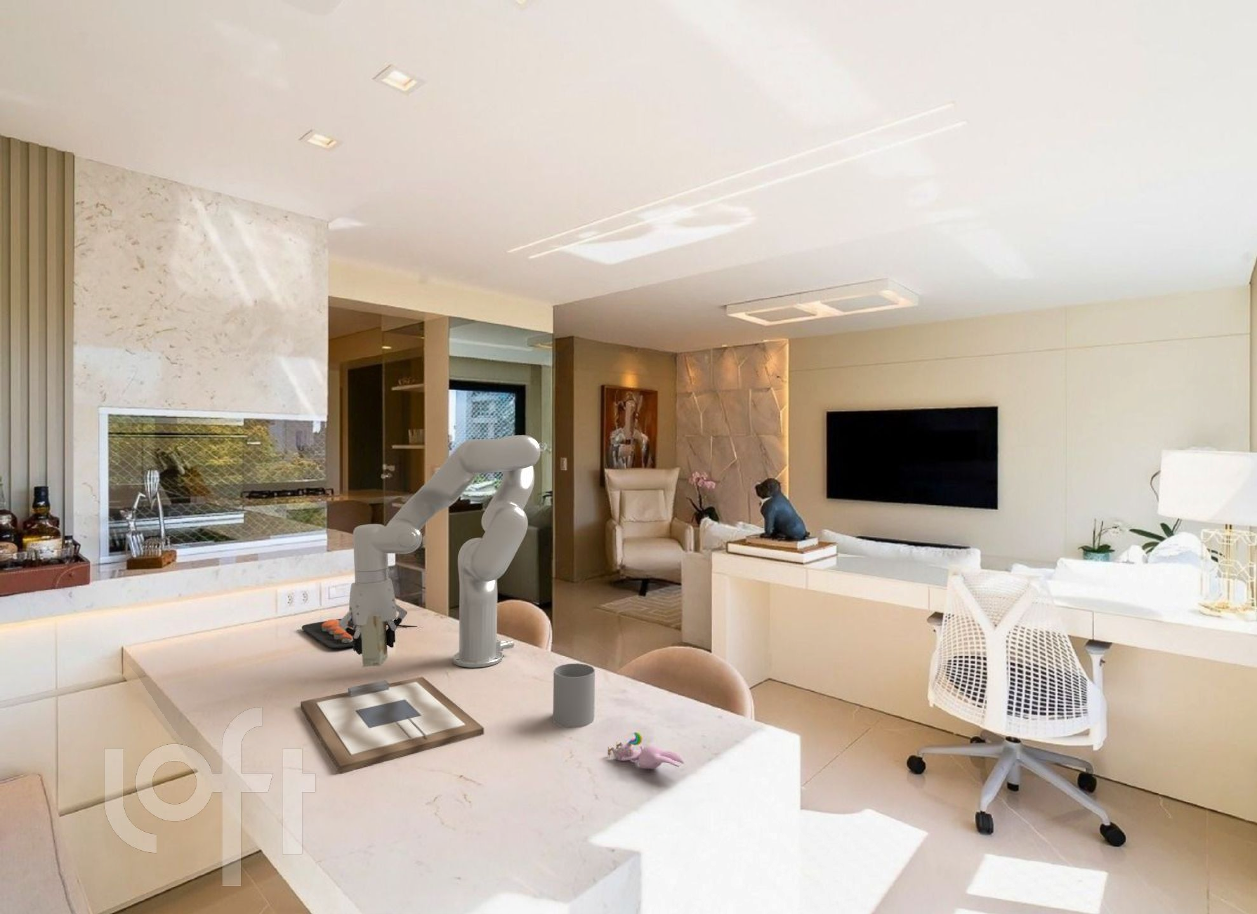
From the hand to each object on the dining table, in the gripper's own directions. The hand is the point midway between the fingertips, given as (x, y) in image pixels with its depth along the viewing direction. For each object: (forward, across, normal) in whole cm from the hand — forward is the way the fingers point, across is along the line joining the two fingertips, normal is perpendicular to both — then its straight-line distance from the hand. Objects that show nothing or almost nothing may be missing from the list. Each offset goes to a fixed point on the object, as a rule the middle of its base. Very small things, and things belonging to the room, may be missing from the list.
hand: (374, 649), depth 156 cm
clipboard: (+6, +5, +28) cm, 29 cm away
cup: (+8, -26, +49) cm, 56 cm away
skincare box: (+3, 0, 0) cm, 3 cm away
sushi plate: (+7, -9, -39) cm, 41 cm away
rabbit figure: (+8, -25, +73) cm, 78 cm away
